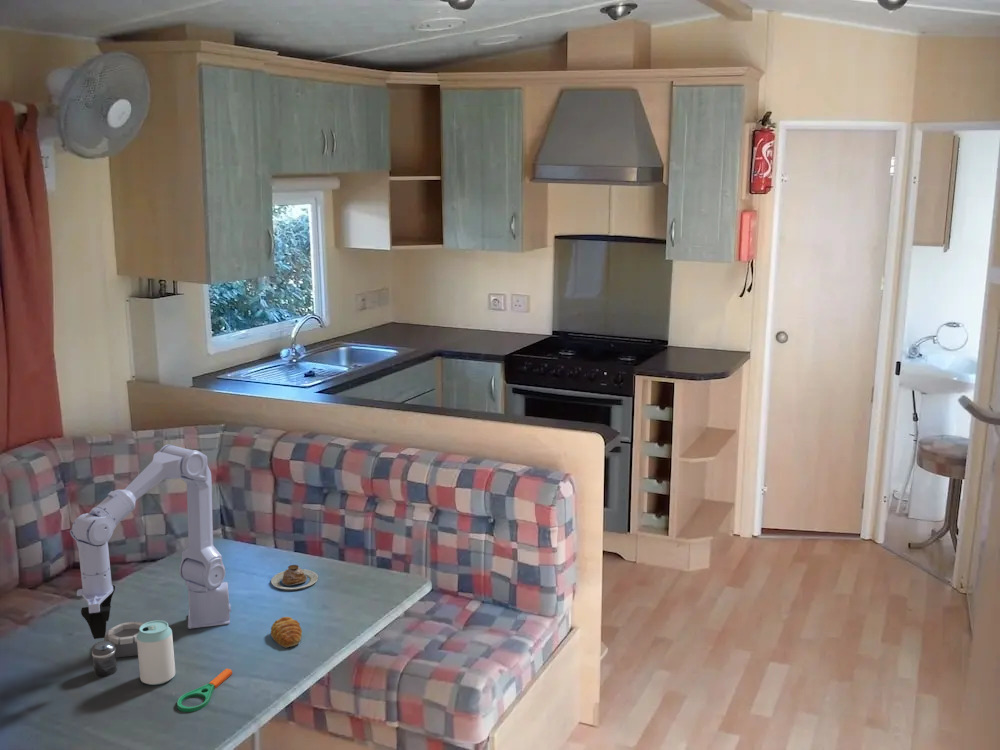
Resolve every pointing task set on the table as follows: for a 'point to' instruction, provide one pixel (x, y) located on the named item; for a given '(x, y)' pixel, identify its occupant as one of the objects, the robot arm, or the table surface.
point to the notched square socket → (124, 638)
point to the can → (155, 652)
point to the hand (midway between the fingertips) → (101, 629)
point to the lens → (104, 658)
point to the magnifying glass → (207, 692)
